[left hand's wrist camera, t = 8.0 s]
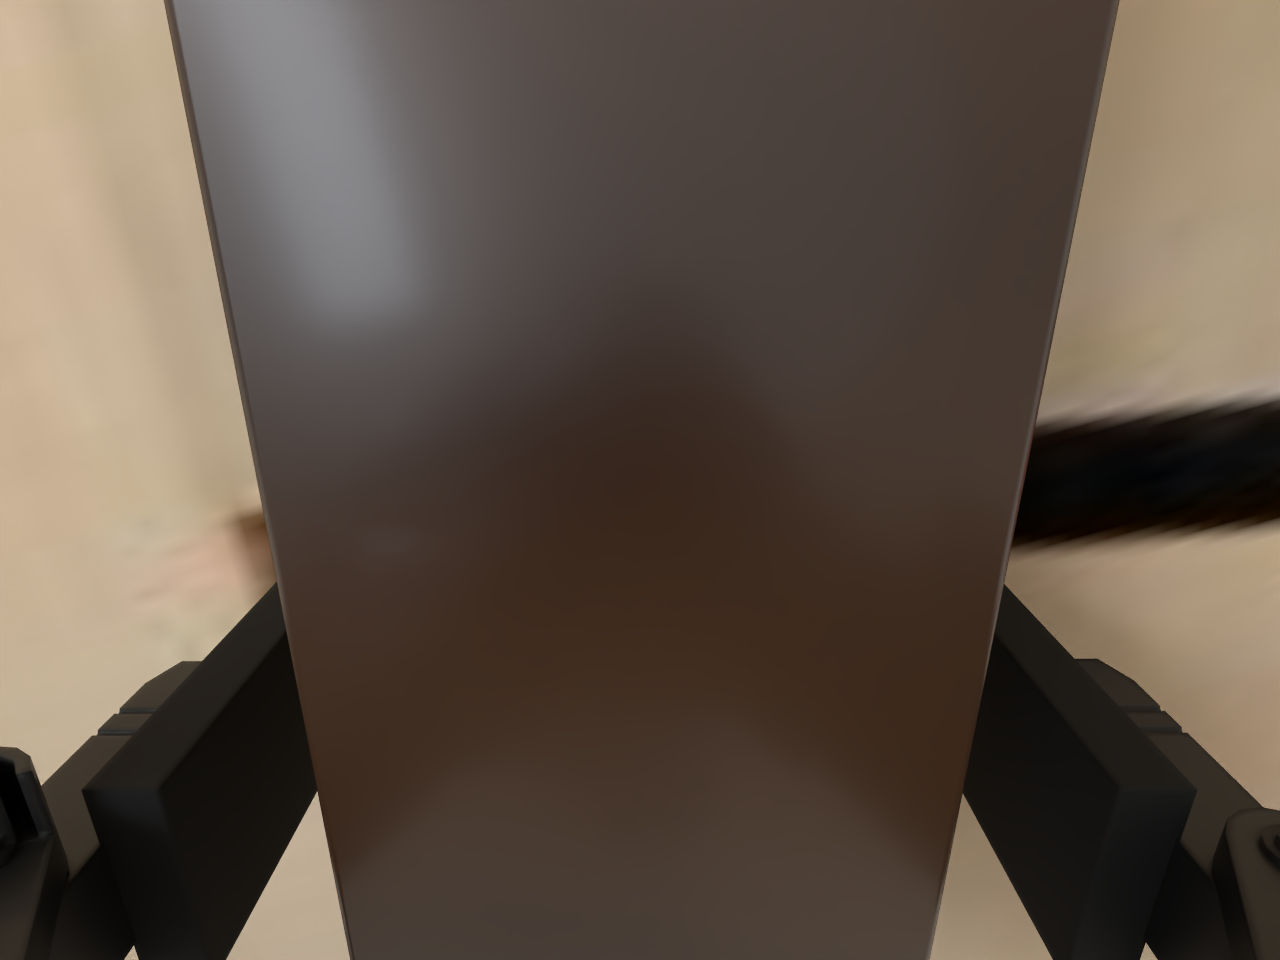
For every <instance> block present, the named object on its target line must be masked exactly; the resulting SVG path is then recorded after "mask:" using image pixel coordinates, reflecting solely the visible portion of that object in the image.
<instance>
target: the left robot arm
mask: <svg viewBox="0 0 1280 960" xmlns="http://www.w3.org/2000/svg"><path fill="white" fill-rule="evenodd" d="M316 792H317V785H316V780H315V775H314V770H313V765H312V760H311V755H310V749H309V744H308V739H307V734H306V729H305V724H304V719H303V713H302V708H301V703H300V698H299V693H298V688H297V683H296V677H295V672H294V667H293V662H292V657H291V652H290V647H289V641H288V636H287V631H286V626H285V621H284V616H283V611H282V605H281V600H280V595H279V590H278V585H277V582H276V583H275V584H274V585H273V586H272V588H271V589H270V590H269V591H268V592H267V593H266V594H265V595H264V596H263V597H262V598H261V599H260V600H259V601H258V602H257V603H256V605H255V606H254V607H253V608H252V609H251V610H250V611H249V612H248V613H247V614H246V615H245V616H244V617H243V618H242V619H241V621H240V622H239V623H238V624H237V625H236V626H235V627H234V628H233V629H232V630H231V631H230V632H229V633H228V634H227V635H226V636H225V638H224V639H223V640H222V641H221V642H220V643H219V644H218V645H217V646H216V647H215V648H214V649H213V650H212V651H211V652H210V653H209V655H208V656H207V657H206V658H205V659H204V660H203V661H182V662H180V663H178V664H177V665H175V666H173V667H172V668H170V669H168V670H167V671H165V672H163V673H162V674H160V675H158V676H157V677H155V678H153V679H152V680H150V681H148V682H147V683H145V684H144V685H143V686H142V687H141V688H140V689H139V690H138V691H137V692H136V693H135V694H134V695H133V696H132V697H131V698H130V699H129V700H128V701H127V702H126V703H125V704H124V705H123V706H122V707H121V708H120V712H119V714H114V715H113V716H112V717H111V718H110V719H109V720H108V721H107V722H106V723H105V724H104V725H103V726H102V727H101V728H100V729H99V730H98V734H97V736H91V737H90V738H89V739H88V740H87V741H86V742H85V743H84V744H83V745H82V746H81V747H80V748H79V749H78V750H77V751H76V752H75V753H74V754H73V755H72V756H71V757H70V758H69V759H68V760H67V761H66V762H65V763H64V764H63V765H62V766H61V767H60V768H59V769H58V770H57V771H56V772H55V773H54V774H53V775H52V776H51V777H50V778H49V779H48V780H47V781H46V782H45V783H44V784H43V785H42V786H41V785H40V782H39V779H38V777H37V774H36V771H35V768H34V766H33V763H32V760H31V757H30V756H29V755H27V754H26V753H24V752H23V751H21V750H20V749H18V748H12V747H0V960H124V959H125V957H126V956H127V954H128V953H129V951H130V950H131V948H132V947H133V945H134V947H135V949H136V952H137V955H138V958H139V960H226V959H227V957H228V955H229V953H230V951H231V949H232V947H233V946H234V944H235V942H236V940H237V938H238V936H239V935H240V933H241V931H242V929H243V927H244V925H245V923H246V922H247V920H248V918H249V916H250V914H251V912H252V911H253V909H254V907H255V905H256V903H257V901H258V899H259V898H260V896H261V894H262V892H263V890H264V888H265V887H266V885H267V883H268V881H269V879H270V877H271V875H272V874H273V872H274V870H275V868H276V866H277V864H278V863H279V861H280V859H281V857H282V855H283V853H284V851H285V850H286V848H287V846H288V844H289V842H290V840H291V839H292V837H293V835H294V833H295V831H296V829H297V827H298V826H299V824H300V822H301V820H302V818H303V816H304V815H305V813H306V811H307V809H308V807H309V805H310V803H311V802H312V800H313V798H314V796H315V794H316ZM963 794H964V796H965V798H966V800H967V802H968V803H969V805H970V807H971V809H972V811H973V813H974V815H975V816H976V818H977V820H978V822H979V824H980V826H981V827H982V829H983V831H984V833H985V835H986V837H987V839H988V840H989V842H990V844H991V846H992V848H993V850H994V852H995V853H996V855H997V857H998V859H999V861H1000V863H1001V864H1002V866H1003V868H1004V870H1005V872H1006V874H1007V876H1008V877H1009V879H1010V881H1011V883H1012V885H1013V887H1014V888H1015V890H1016V892H1017V894H1018V896H1019V898H1020V900H1021V901H1022V903H1023V905H1024V907H1025V909H1026V911H1027V912H1028V914H1029V916H1030V918H1031V920H1032V922H1033V924H1034V925H1035V927H1036V929H1037V931H1038V933H1039V935H1040V936H1041V938H1042V940H1043V942H1044V944H1045V946H1046V948H1047V949H1048V951H1049V953H1050V955H1051V957H1052V959H1053V960H1140V958H1141V955H1142V952H1143V949H1144V946H1145V943H1147V944H1148V946H1149V947H1150V949H1151V950H1152V952H1153V953H1154V955H1155V956H1156V958H1157V959H1158V960H1280V811H1279V810H1273V809H1268V808H1264V807H1263V806H1261V805H1260V804H1259V803H1258V802H1257V801H1256V800H1255V799H1254V798H1253V797H1252V796H1251V795H1250V794H1249V793H1248V792H1247V791H1246V790H1245V789H1244V788H1243V787H1242V786H1241V785H1240V784H1239V783H1238V782H1237V781H1236V780H1235V779H1234V778H1233V777H1232V776H1231V775H1230V774H1229V773H1228V772H1227V771H1226V770H1225V769H1224V768H1223V767H1222V766H1221V765H1220V764H1219V763H1218V762H1217V761H1216V760H1215V759H1213V758H1212V757H1211V756H1210V755H1209V754H1208V753H1207V752H1206V751H1205V750H1204V749H1203V748H1202V747H1201V746H1200V745H1199V744H1198V743H1197V742H1196V741H1195V740H1194V739H1193V738H1192V737H1191V736H1190V735H1189V734H1188V733H1183V732H1182V727H1181V726H1180V725H1179V724H1178V723H1177V722H1176V721H1175V720H1174V719H1173V718H1172V717H1171V716H1170V715H1169V714H1168V713H1167V712H1165V711H1161V710H1160V706H1159V705H1158V704H1157V703H1156V702H1155V701H1154V700H1153V699H1152V698H1151V697H1150V696H1149V695H1148V694H1147V693H1146V692H1145V691H1144V690H1143V689H1142V688H1141V687H1140V686H1139V685H1138V684H1137V683H1136V682H1135V681H1134V680H1132V679H1130V678H1129V677H1127V676H1125V675H1124V674H1122V673H1120V672H1119V671H1117V670H1115V669H1114V668H1112V667H1110V666H1109V665H1107V664H1105V663H1104V662H1102V661H1100V660H1099V659H1074V658H1073V657H1072V656H1071V655H1070V654H1069V653H1068V651H1067V650H1066V649H1065V648H1064V647H1063V646H1062V645H1061V644H1060V643H1059V642H1058V641H1057V640H1056V639H1055V638H1054V637H1053V636H1052V634H1051V633H1050V632H1049V631H1048V630H1047V629H1046V628H1045V627H1044V626H1043V625H1042V624H1041V623H1040V622H1039V621H1038V620H1037V619H1036V617H1035V616H1034V615H1033V614H1032V613H1031V612H1030V611H1029V610H1028V609H1027V608H1026V607H1025V606H1024V605H1023V604H1022V603H1021V602H1020V600H1019V599H1018V598H1017V597H1016V596H1015V595H1014V594H1013V593H1012V592H1011V591H1010V590H1009V589H1008V588H1007V587H1006V586H1005V584H1004V586H1003V591H1002V596H1001V601H1000V606H999V611H998V616H997V621H996V626H995V631H994V636H993V641H992V646H991V651H990V656H989V661H988V666H987V671H986V677H985V682H984V687H983V692H982V697H981V702H980V707H979V712H978V717H977V722H976V727H975V732H974V737H973V742H972V747H971V752H970V757H969V762H968V767H967V772H966V777H965V783H964V788H963Z"/></svg>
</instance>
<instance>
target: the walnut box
mask: <svg viewBox="0 0 1280 960" xmlns="http://www.w3.org/2000/svg"><path fill="white" fill-rule="evenodd" d="M164 3H165V9H166V14H167V19H168V24H169V29H170V34H171V39H172V45H173V50H174V55H175V60H176V65H177V70H178V75H179V81H180V86H181V91H182V96H183V101H184V106H185V111H186V117H187V122H188V127H189V132H190V137H191V142H192V147H193V153H194V158H195V163H196V168H197V173H198V178H199V183H200V189H201V194H202V199H203V204H204V209H205V214H206V219H207V225H208V230H209V235H210V240H211V245H212V250H213V256H214V261H215V266H216V271H217V276H218V281H219V286H220V292H221V297H222V302H223V307H224V312H225V317H226V322H227V328H228V333H229V338H230V343H231V348H232V353H233V358H234V364H235V369H236V374H237V379H238V384H239V389H240V394H241V400H242V405H243V410H244V415H245V420H246V425H247V430H248V436H249V441H250V446H251V451H252V456H253V461H254V466H255V472H256V477H257V482H258V487H259V492H260V497H261V502H262V508H263V513H264V518H265V523H266V528H267V533H268V539H269V544H270V549H271V554H272V559H273V564H274V569H275V575H276V580H277V585H278V590H279V595H280V600H281V605H282V611H283V616H284V621H285V626H286V631H287V636H288V641H289V647H290V652H291V657H292V662H293V667H294V672H295V677H296V683H297V688H298V693H299V698H300V703H301V708H302V713H303V719H304V724H305V729H306V734H307V739H308V744H309V749H310V755H311V760H312V765H313V770H314V775H315V780H316V785H317V791H318V796H319V801H320V806H321V811H322V816H323V822H324V827H325V832H326V837H327V842H328V847H329V852H330V858H331V863H332V868H333V873H334V878H335V883H336V888H337V894H338V899H339V904H340V909H341V914H342V919H343V924H344V930H345V935H346V940H347V945H348V950H349V955H350V960H929V959H930V954H931V949H932V944H933V939H934V934H935V929H936V924H937V919H938V914H939V909H940V904H941V899H942V894H943V889H944V884H945V878H946V873H947V868H948V863H949V858H950V853H951V848H952V843H953V838H954V833H955V828H956V823H957V818H958V813H959V808H960V803H961V798H962V793H963V788H964V783H965V777H966V772H967V767H968V762H969V757H970V752H971V747H972V742H973V737H974V732H975V727H976V722H977V717H978V712H979V707H980V702H981V697H982V692H983V687H984V682H985V677H986V671H987V666H988V661H989V656H990V651H991V646H992V641H993V636H994V631H995V626H996V621H997V616H998V611H999V606H1000V601H1001V596H1002V591H1003V586H1004V581H1005V576H1006V570H1007V565H1008V560H1009V555H1010V550H1011V545H1012V540H1013V535H1014V530H1015V525H1016V520H1017V515H1018V510H1019V505H1020V500H1021V495H1022V490H1023V485H1024V480H1025V475H1026V469H1027V464H1028V459H1029V454H1030V449H1031V444H1032V439H1033V434H1034V429H1035V424H1036V419H1037V414H1038V409H1039V404H1040V399H1041V394H1042V389H1043V384H1044V379H1045V374H1046V368H1047V363H1048V358H1049V353H1050V348H1051V343H1052V338H1053V333H1054V328H1055V323H1056V318H1057V313H1058V308H1059V303H1060V298H1061V293H1062V288H1063V283H1064V278H1065V273H1066V268H1067V262H1068V257H1069V252H1070V247H1071V242H1072V237H1073V232H1074V227H1075V222H1076V217H1077V212H1078V207H1079V202H1080V197H1081V192H1082V187H1083V182H1084V177H1085V172H1086V167H1087V161H1088V156H1089V151H1090V146H1091V141H1092V136H1093V131H1094V126H1095V121H1096V116H1097V111H1098V106H1099V101H1100V96H1101V91H1102V86H1103V81H1104V76H1105V71H1106V66H1107V60H1108V55H1109V50H1110V45H1111V40H1112V35H1113V30H1114V25H1115V20H1116V15H1117V10H1118V5H1119V0H164Z"/></svg>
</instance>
